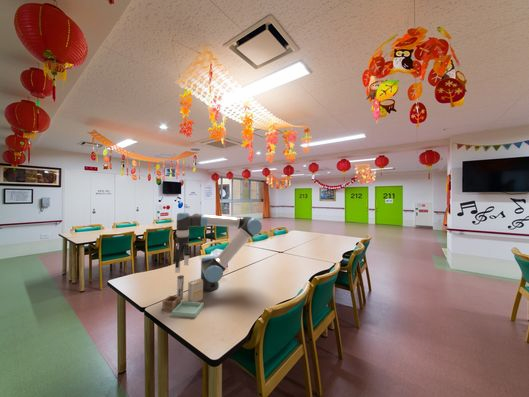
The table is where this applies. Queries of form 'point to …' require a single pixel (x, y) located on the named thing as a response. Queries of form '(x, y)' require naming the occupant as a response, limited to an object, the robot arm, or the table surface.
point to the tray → (188, 309)
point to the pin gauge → (180, 286)
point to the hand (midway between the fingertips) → (182, 268)
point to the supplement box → (195, 290)
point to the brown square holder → (171, 303)
